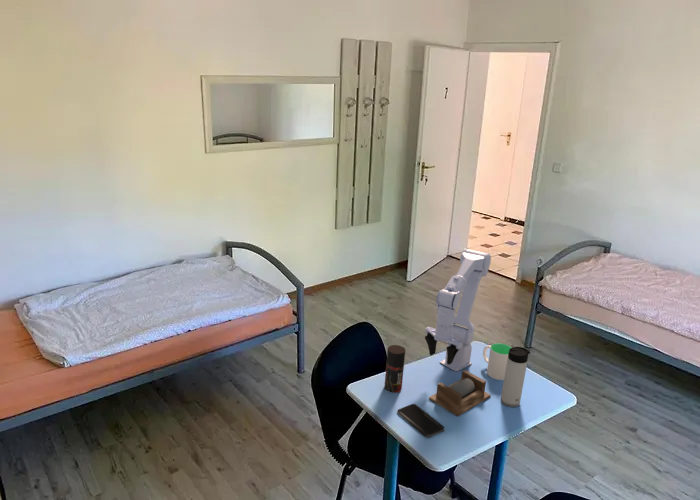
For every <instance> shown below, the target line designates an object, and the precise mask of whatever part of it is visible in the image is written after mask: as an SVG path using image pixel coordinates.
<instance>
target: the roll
mask: <svg viewBox="0 0 700 500" xmlns="http://www.w3.org/2000/svg"><path fill="white" fill-rule="evenodd" d="M450 388H451V389H453V390H455V391H457V392H458V393H460V394H462V398H463V397H465V396H467V395H468V394H470V393H472V392H473V391H474V390H475V385H474V383H473V381H472V380H471V379H469V378H465V379H464V380H462V381H460V382H458V383H456V384H454V385H452V386H450Z"/></svg>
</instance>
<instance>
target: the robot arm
mask: <svg viewBox="0 0 700 500" xmlns="http://www.w3.org/2000/svg"><path fill="white" fill-rule="evenodd" d="M491 258H492V256H491V253H489V252H485V251H484V252H482V251H478V250H474V249H469V248H467V247H465V248H463V250H462V251H461V254H460V258H459V262H460V267H459V269H458V271H457V273H456V274H455V275H454V274H453V275H452V276H451V277H450V278H449V280H448V282H447V284H446V286H445V287H444V288H443V289H440V290H439V291H438V292H437V294H436V298H435V301H436V303H435V304H436V311H437V315H436V325H435V327H431V326H427V327H425V328H424V329H425V330H424V334H426V335H425V336H424V341H426V344H427V347H428V348H427V349H428V352H429V355H430V356H433V355H435V353H436V350H437V343H438V342H444V343H447V344H446V351H445V358H444V359H443V360H440V361H439V363H440V364H442V365H443V366H445V367H447V368H449V370H452V371H454V372H459V371H461V370H463V369H464V368H467V367H468V366H470V365H472V362H471V357H472V349H473V348H472V347H473V346H472V342H473V339H474V335H475V334H474V332H475V326H474V324H473V323H472V321H471V320H470V317H471V314H472V311H473V306H474V303H475V300H476V297H477V293H478V289H479V285H480V282H481V280H482V278H483V277H486V276H487V275H488V272H489V270H490V269H489V268H490V265H491V261H492V259H491ZM456 309H457V312H456ZM462 326H463V327H462Z"/></svg>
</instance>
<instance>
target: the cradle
mask: <svg viewBox="0 0 700 500" xmlns="http://www.w3.org/2000/svg"><path fill="white" fill-rule="evenodd" d="M465 378H469V379H471V380H472V381H473V383H474V385H475V390H474V391H473V392H472V393H470V394H468V395H467V396H465V397H463V398H462V394H460V393H458V392H457V391H455V390H453V389H451V388H450V386H452V385H454V384H456V383H458V382H460V381H462V380H464V379H465ZM486 384H487V381H486V380H485V379H483V378H482V377H479V376H477V375H476V374H473V373H471V372H470V371H468V370H466V369H464V370H462V371H461V378H460V379H458V381H455V382H453V383H451V384H449V385H446V384H445V383H442V382H438V383H437V387H436V393H434V394H432V395H430V396H429V397H428V399H429V401H432V402H433V403H435V404H436V405H438V406H440V407H441V408H443V409H444V410H446V411H448V412H449V413H451V414H453V415H454V416H456V417H459V416H461V415H462V414H464V413H466V412H468V411H469V410H471V409H473V408H474V407H476V406H478V405H480V404H481V403H482V402H484V401H487V400H488V399H489V398H491V394H490V393H489V392H486V386H487V385H486Z"/></svg>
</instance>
